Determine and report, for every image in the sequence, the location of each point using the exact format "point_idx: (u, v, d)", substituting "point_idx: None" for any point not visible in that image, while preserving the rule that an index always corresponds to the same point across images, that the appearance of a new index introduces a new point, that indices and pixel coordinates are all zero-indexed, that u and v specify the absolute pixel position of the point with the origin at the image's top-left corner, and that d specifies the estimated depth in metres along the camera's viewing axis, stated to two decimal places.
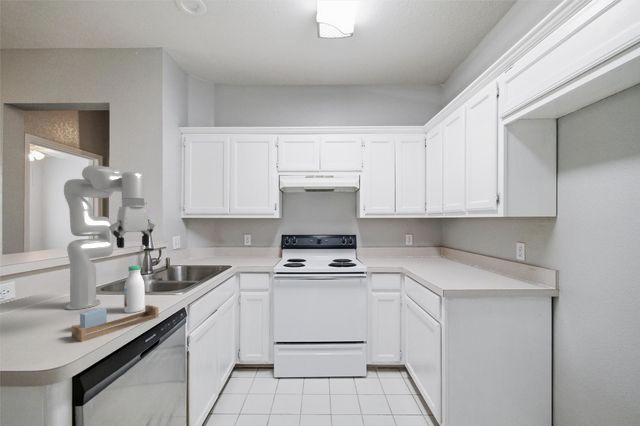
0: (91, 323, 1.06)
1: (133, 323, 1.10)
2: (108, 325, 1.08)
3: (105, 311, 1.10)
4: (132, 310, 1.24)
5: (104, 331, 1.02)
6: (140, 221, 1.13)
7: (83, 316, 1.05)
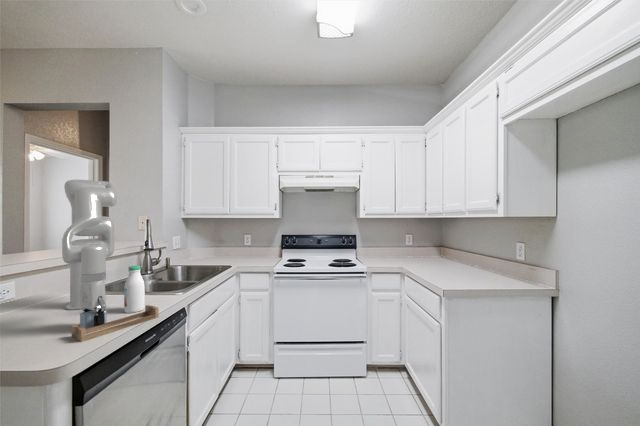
0: (91, 323, 1.06)
1: (133, 323, 1.10)
2: (108, 325, 1.08)
3: (105, 311, 1.10)
4: (132, 310, 1.24)
5: (104, 331, 1.02)
6: None
7: (83, 316, 1.05)
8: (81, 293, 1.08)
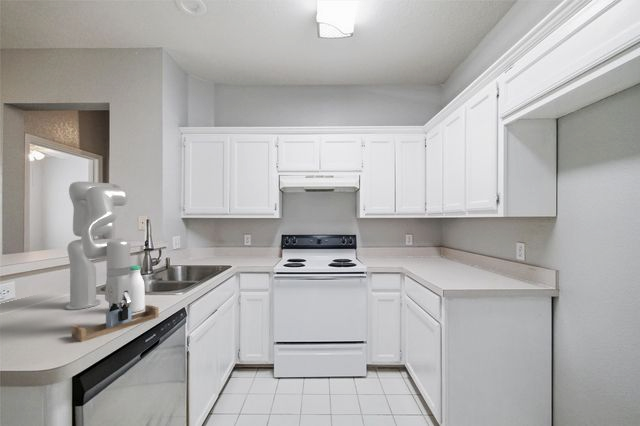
0: (116, 323, 1.07)
1: (133, 323, 1.10)
2: None
3: (130, 310, 1.11)
4: (132, 310, 1.24)
5: (104, 331, 1.02)
6: None
7: (109, 315, 1.06)
8: (106, 287, 1.08)
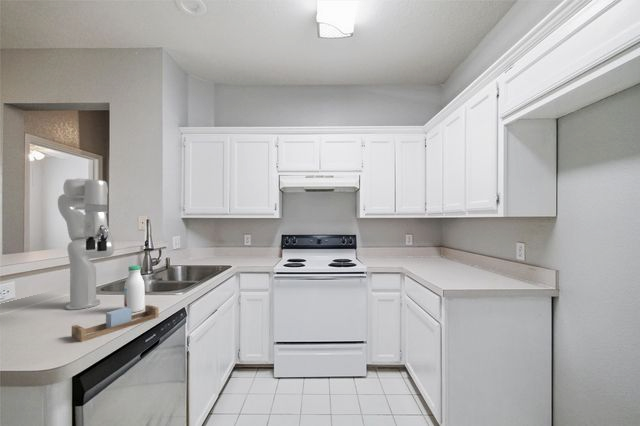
0: (116, 323, 1.07)
1: (133, 323, 1.10)
2: None
3: (130, 310, 1.11)
4: (132, 310, 1.24)
5: (104, 331, 1.02)
6: None
7: (109, 315, 1.06)
8: (85, 223, 1.17)
